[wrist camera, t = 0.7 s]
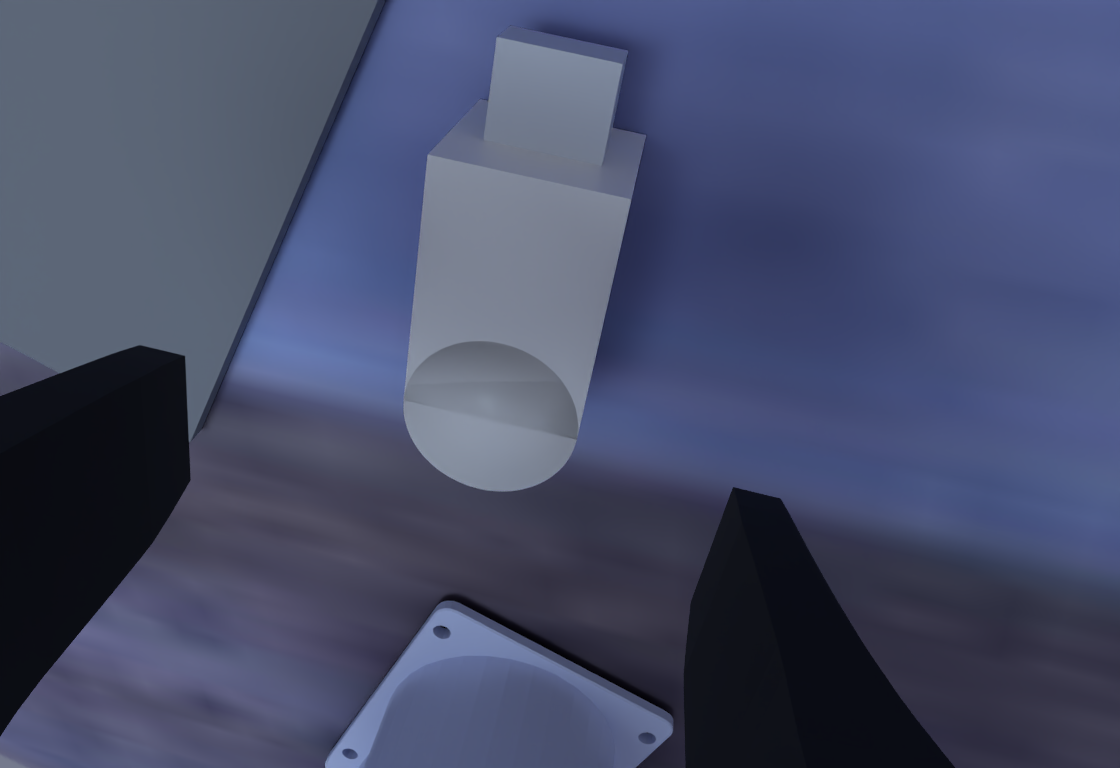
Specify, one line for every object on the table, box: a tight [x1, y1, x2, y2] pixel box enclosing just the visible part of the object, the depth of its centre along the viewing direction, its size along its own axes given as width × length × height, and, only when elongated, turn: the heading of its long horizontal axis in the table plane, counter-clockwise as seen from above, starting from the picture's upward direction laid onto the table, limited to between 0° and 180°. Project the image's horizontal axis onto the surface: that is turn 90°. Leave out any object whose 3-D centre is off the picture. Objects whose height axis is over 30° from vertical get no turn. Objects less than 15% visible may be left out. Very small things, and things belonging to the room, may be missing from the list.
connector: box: [403, 25, 646, 491], centre depth 18 cm, size 8×4×4 cm, turn 171°
